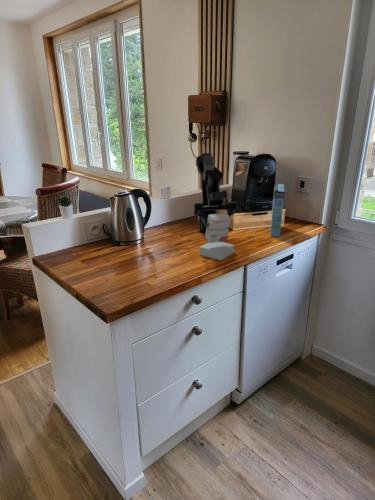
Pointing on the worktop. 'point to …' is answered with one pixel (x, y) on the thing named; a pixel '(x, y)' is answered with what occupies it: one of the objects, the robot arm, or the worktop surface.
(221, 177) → the robot arm
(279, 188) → the gum box
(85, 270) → the worktop surface
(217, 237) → the ink box
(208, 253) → the base block
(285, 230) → the worktop surface
